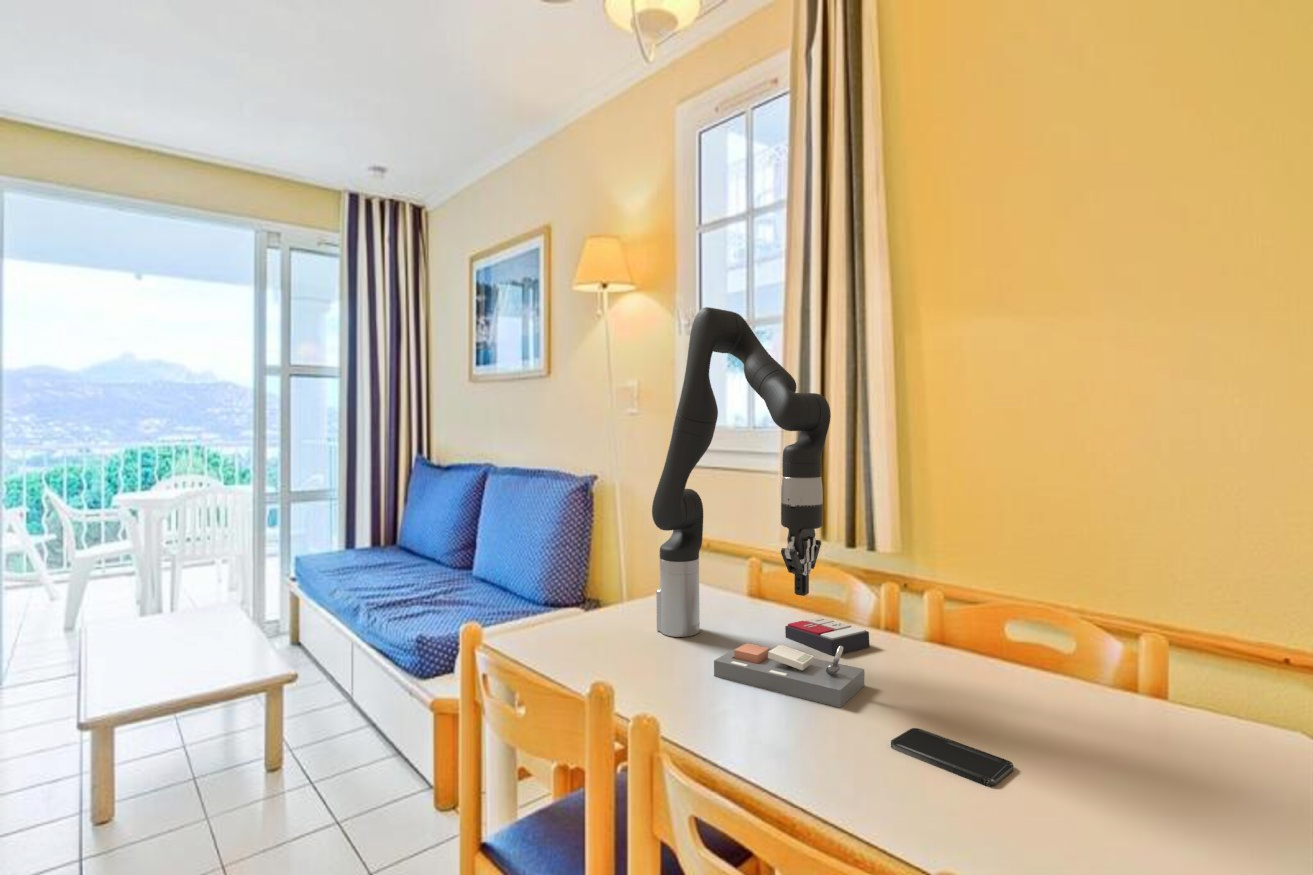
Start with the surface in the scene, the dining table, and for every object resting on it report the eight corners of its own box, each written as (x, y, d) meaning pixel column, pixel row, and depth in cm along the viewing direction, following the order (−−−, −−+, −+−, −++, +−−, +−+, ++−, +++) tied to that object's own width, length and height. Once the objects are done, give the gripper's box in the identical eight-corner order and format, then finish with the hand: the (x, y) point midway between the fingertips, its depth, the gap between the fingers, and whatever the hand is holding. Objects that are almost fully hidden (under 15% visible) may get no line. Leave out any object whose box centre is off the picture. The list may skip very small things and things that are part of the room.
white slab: (767, 657, 124) (768, 651, 124) (779, 650, 128) (780, 643, 128) (802, 670, 120) (803, 663, 120) (813, 662, 124) (814, 655, 124)
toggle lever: (824, 672, 119) (835, 645, 118) (830, 668, 121) (840, 642, 119) (833, 677, 118) (843, 650, 117) (838, 673, 120) (848, 646, 119)
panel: (714, 675, 127) (713, 657, 127) (744, 657, 137) (744, 640, 137) (840, 707, 112) (840, 686, 112) (864, 685, 122) (864, 665, 122)
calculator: (819, 615, 156) (869, 628, 143) (820, 633, 156) (870, 648, 143) (784, 622, 150) (832, 636, 137) (784, 641, 150) (833, 657, 137)
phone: (992, 783, 87) (887, 741, 98) (992, 791, 87) (887, 749, 98) (1016, 762, 92) (914, 726, 103) (1016, 771, 92) (914, 733, 103)
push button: (734, 664, 128) (734, 650, 128) (747, 657, 132) (746, 643, 132) (757, 669, 125) (757, 655, 125) (769, 662, 129) (769, 647, 129)
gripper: (797, 496, 130) (797, 584, 130) (766, 503, 119) (766, 599, 119) (834, 499, 125) (834, 590, 126) (805, 506, 115) (805, 605, 115)
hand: (801, 594), depth 122 cm, fingers closed
